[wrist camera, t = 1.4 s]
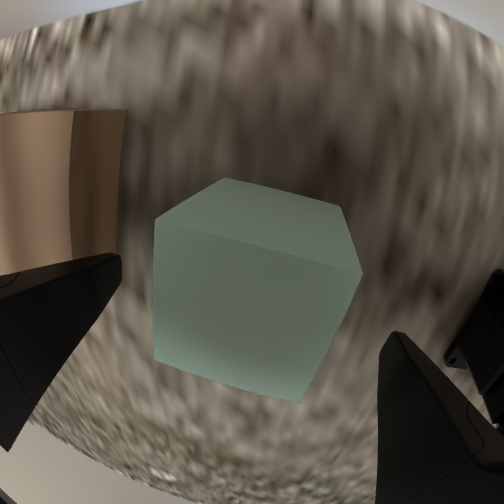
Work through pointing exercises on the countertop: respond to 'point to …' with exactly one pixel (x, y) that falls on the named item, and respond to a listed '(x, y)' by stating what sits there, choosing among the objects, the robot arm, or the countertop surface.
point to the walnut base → (58, 185)
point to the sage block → (251, 286)
